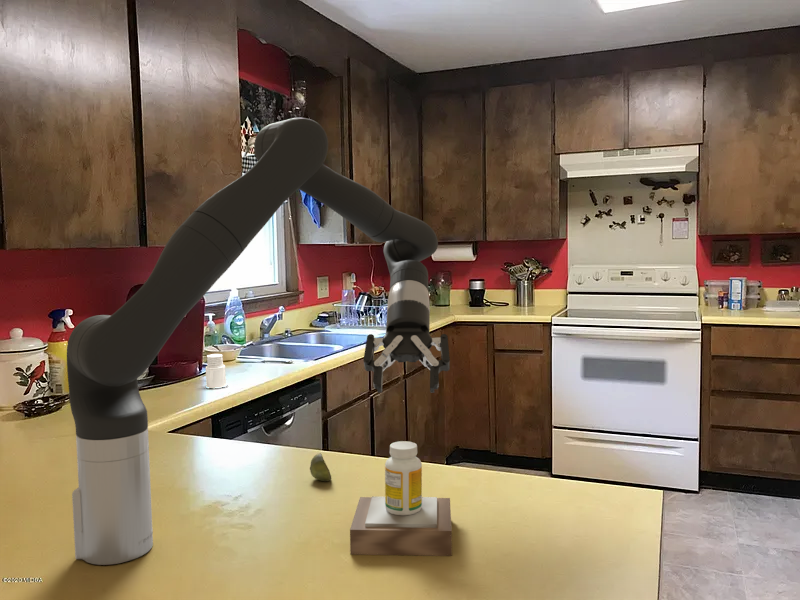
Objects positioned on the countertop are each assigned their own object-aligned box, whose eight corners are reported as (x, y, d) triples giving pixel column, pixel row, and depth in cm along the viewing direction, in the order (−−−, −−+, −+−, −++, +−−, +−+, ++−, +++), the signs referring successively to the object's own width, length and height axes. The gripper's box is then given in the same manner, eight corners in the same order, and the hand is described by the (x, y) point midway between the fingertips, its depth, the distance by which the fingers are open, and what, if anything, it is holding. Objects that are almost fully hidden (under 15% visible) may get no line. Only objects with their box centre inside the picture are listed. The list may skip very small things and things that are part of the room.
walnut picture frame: (350, 554, 92) (349, 526, 92) (360, 518, 104) (359, 493, 103) (451, 555, 91) (451, 527, 91) (450, 519, 103) (449, 494, 103)
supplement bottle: (387, 517, 94) (386, 451, 94) (383, 503, 100) (383, 440, 99) (424, 515, 95) (424, 449, 94) (419, 501, 100) (418, 438, 99)
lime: (320, 474, 124) (319, 448, 124) (340, 479, 122) (339, 452, 121) (303, 481, 121) (303, 454, 120) (323, 486, 118) (323, 459, 118)
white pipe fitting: (211, 383, 209) (209, 352, 208) (232, 384, 208) (230, 352, 207) (200, 390, 201) (198, 358, 200) (222, 390, 200) (220, 358, 199)
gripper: (366, 298, 115) (359, 377, 104) (448, 298, 114) (450, 377, 104) (370, 325, 121) (364, 402, 110) (448, 325, 120) (450, 402, 109)
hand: (405, 389), depth 107 cm, fingers open, 8 cm apart
